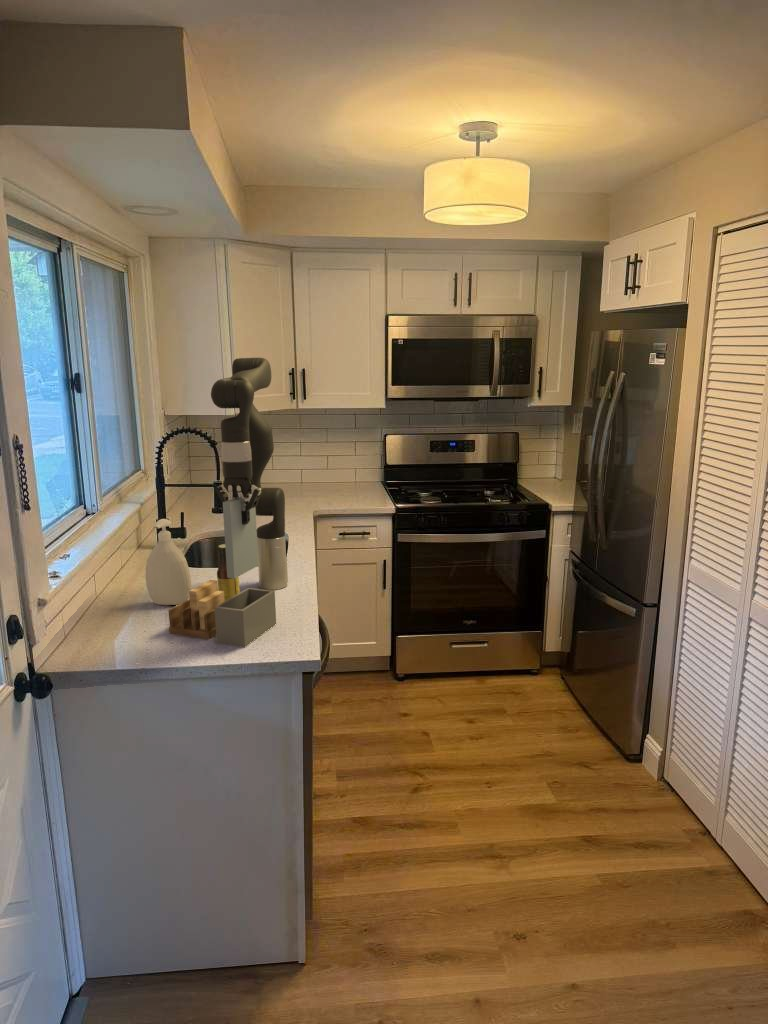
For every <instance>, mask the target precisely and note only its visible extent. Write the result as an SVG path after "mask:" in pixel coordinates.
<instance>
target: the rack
mask: <svg viewBox="0 0 768 1024" xmlns="http://www.w3.org/2000/svg"><path fill="white" fill-rule="evenodd" d="M167 611H168V620H169V626H168V631H169V632H168V633H169V635H175V636H182V637H188V638H195V639H200V640H201V639H203V640H211V639H213V638H214V637H216V623H215V609H213V610H211V611H209V612H207V613H206V614H204V623H205V630H204V629H200V619H199V609H198V610H196V611H194V612H193V613H192V621H193V625H192V621H191V608H190V598H188V599H187V600H186V601H184V602H182V603H180V604H179V605H177V606H172V607H171V608H170V609H168V610H167Z"/></svg>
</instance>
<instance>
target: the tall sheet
mask: <svg viewBox="0 0 768 1024" xmlns="http://www.w3.org/2000/svg"><path fill="white" fill-rule="evenodd" d="M251 496H252V494H250V499H251ZM244 498H245V497H244ZM241 511H242V509H241V503H240V500H239V498H238V497H237V498H234V499H231V500H228V501H225V502H223V504H222V515H223V516H222V517H223V528H224V544H225V549H226V565H227V578H236V577H238V578H239V576H241V575H244V574H246V573H247V572H249V571H251V570H254V569H255V568H258V547H257V528H258V527H257V515H256V508H255V507H254V508H252V509H250V522H249V523H248V524H246V525H243V524H242V513H241Z"/></svg>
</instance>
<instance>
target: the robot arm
mask: <svg viewBox="0 0 768 1024" xmlns="http://www.w3.org/2000/svg"><path fill="white" fill-rule="evenodd" d="M231 365H232V366H231V367H232V368H231V369H232V370H231V372H232V376H229V377H226V378H225V377H224V378H221V379H217V380H216V381H215V382H214V383H213V384H212V387H211V392H210V398H211V401H212V403H213V404H214V405H215V406H216V407H217V408H220V409H239V410H238V414H237V415H235V416H232V417H228V418H224V419H222V420H221V421H220V434H221V465H222V477H223V482H222V484H220V485H218V486H216V487H215V488H214V491H215V493H216V494H217V496H218V499H219V500H220V502H221V504H222V505H223V502H225V501H228V500H231V499H234V498H237V497H238V498H239V500H240V503H241V509H242V511H241V513H242V524H243V525H246V524H248V523H249V522H250V509H252V508H254V507H255V508H256V517H257V516H259V517H260V516H261V517H272V520H271V521H270V522H268V523H265V524H263V525H260V526H257V527H256V528H257V547H258V566H257V568H258V585H259V588H260V589H262V590H271V591H275V590H280V589H283V588H286V587H287V586H288V583H289V580H288V579H289V576H288V557H287V551H286V549H287V548H286V547H287V546H286V517H285V516H286V500H285V499H286V496H285V493H284V490H283V489H282V488H281V487H262V485H261V479H262V476H263V473H264V471H265V468H266V467H267V466H268V463H270V460H271V458H272V455H273V453H274V449H275V447H274V446H275V445H274V436H273V430H272V427H271V426H270V424H269V421H268V420H266V418H265V417H264V416H263V415H262V414H261V412H260V411H259V409H257V408H256V406H255V405H254V398H255V393H256V392H257V391H259V390H263V389H267V388H269V387H270V385H271V382H272V367H271V364H270V361H269V360H267V358H264V357H238V358H235V359H234V360H233V362H232V364H231ZM250 494H252V496H251V499H250ZM244 497H245V498H244Z"/></svg>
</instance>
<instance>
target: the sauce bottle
mask: <svg viewBox="0 0 768 1024" xmlns="http://www.w3.org/2000/svg"><path fill="white" fill-rule="evenodd" d="M217 551H218V553H219V562H218V567H217V571H216V579H217V580H216V581H217V587H218V591H224V599H225V601H226V600H228V599H230V598H231V597H233V596H235V595H237V594H238V593H240V592H241V590H240V580H239V579H240V578H239V576H238V577H236V578H227V565H226V549H225V543H223V544H218V546H217Z"/></svg>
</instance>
